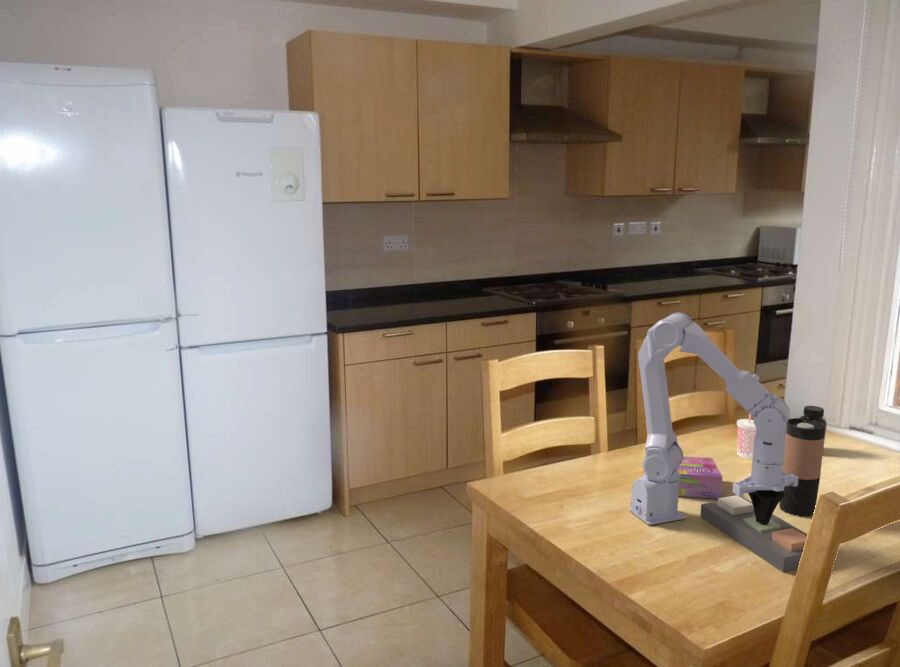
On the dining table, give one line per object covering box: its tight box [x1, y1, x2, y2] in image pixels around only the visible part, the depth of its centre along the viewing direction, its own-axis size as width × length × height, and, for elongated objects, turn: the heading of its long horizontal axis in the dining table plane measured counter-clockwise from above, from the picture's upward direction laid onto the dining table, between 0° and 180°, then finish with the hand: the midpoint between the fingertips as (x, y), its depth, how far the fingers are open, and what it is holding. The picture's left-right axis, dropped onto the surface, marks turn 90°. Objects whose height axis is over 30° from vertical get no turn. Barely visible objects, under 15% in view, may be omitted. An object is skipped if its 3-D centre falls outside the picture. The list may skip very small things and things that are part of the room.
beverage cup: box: [736, 413, 756, 459], centre depth 192 cm, size 6×6×14 cm
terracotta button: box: [772, 528, 807, 552], centre depth 141 cm, size 5×5×2 cm
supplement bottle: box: [799, 405, 828, 449], centre depth 196 cm, size 7×7×12 cm
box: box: [677, 455, 723, 500], centre depth 173 cm, size 10×6×12 cm
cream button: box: [717, 494, 753, 516], centre depth 156 cm, size 5×5×2 cm
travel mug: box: [779, 417, 826, 517], centre depth 160 cm, size 8×8×20 cm
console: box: [700, 496, 807, 573], centre depth 149 cm, size 11×24×3 cm, turn 19°
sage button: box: [743, 517, 781, 533], centre depth 149 cm, size 5×5×2 cm
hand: (762, 522), depth 149 cm, fingers closed, pressing on sage button
